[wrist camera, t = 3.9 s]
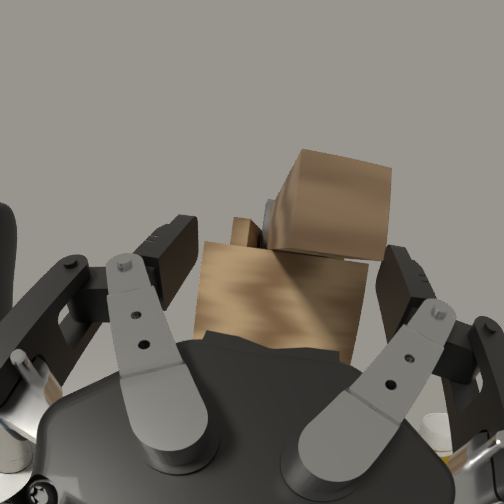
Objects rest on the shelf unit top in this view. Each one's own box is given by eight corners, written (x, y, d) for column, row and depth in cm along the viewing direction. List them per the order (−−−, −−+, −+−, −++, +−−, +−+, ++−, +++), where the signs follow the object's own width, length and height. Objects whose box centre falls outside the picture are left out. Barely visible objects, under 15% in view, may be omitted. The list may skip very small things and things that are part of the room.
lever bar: (392, 262, 12) (399, 153, 12) (280, 246, 11) (294, 129, 11) (303, 255, 33) (308, 211, 33) (259, 249, 32) (265, 205, 32)
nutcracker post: (174, 522, 22) (195, 212, 22) (199, 468, 34) (226, 226, 34) (296, 543, 21) (384, 238, 20) (296, 483, 33) (350, 243, 32)
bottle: (381, 489, 30) (417, 408, 30) (423, 494, 27) (464, 413, 27) (375, 520, 23) (421, 435, 23) (422, 523, 20) (474, 438, 20)
